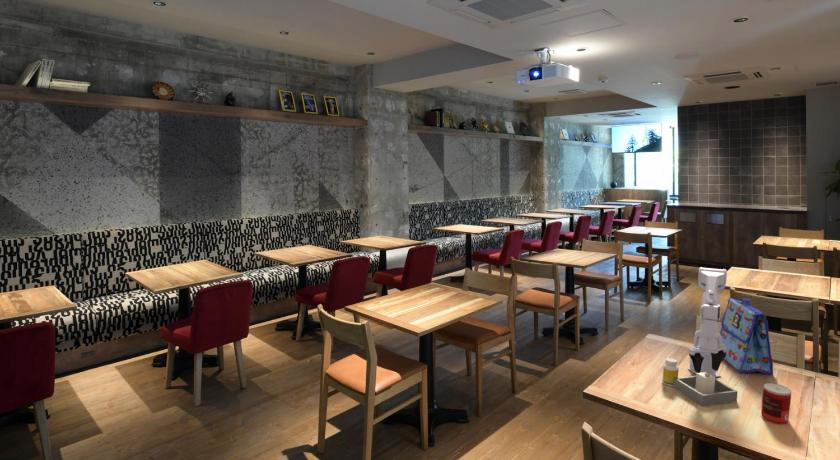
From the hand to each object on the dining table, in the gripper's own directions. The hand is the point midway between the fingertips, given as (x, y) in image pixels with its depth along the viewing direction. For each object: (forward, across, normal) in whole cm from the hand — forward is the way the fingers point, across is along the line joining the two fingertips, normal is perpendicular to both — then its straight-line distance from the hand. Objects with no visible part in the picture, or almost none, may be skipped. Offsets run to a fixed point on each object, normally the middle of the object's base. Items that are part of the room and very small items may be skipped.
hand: (706, 370), depth 182 cm
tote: (+9, 0, 0) cm, 9 cm away
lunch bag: (+10, +37, +20) cm, 43 cm away
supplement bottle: (+10, -6, +11) cm, 16 cm away
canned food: (+10, +10, -20) cm, 24 cm away
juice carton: (+9, 0, 0) cm, 9 cm away
